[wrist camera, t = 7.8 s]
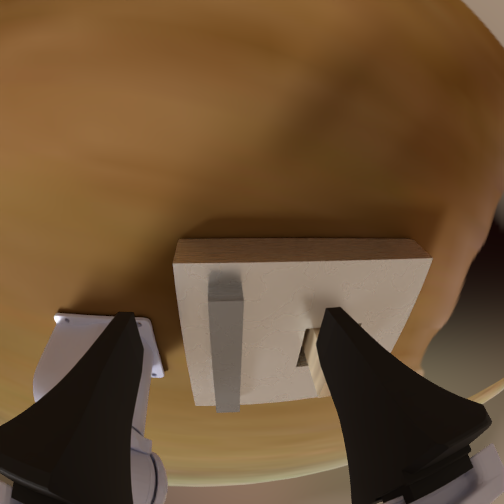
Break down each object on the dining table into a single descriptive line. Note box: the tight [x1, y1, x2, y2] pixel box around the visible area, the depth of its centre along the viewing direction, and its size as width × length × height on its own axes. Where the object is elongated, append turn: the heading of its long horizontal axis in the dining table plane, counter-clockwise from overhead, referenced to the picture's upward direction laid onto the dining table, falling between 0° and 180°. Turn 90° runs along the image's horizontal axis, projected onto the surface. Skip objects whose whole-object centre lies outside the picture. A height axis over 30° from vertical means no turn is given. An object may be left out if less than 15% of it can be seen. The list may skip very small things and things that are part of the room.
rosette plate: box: [173, 238, 433, 413], centre depth 22 cm, size 18×16×5 cm
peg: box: [302, 328, 331, 398], centre depth 21 cm, size 3×3×7 cm
